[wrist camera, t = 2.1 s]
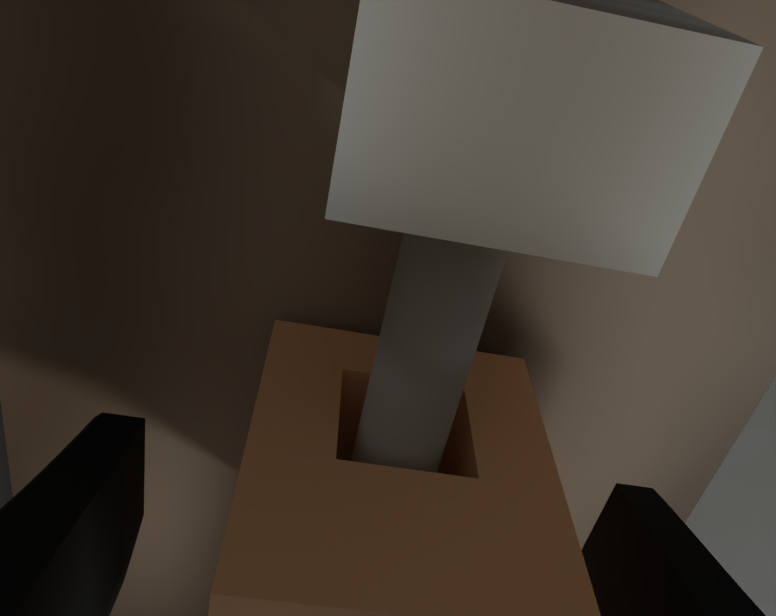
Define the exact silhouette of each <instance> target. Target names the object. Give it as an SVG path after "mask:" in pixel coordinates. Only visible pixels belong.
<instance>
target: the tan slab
mask: <svg viewBox="0 0 776 616" xmlns="http://www.w3.org/2000/svg"><path fill="white" fill-rule="evenodd" d="M275 320H281V321H287V322H294V323H300V324H306V325H313V326H319V327H325V328H332V329H338V330H344V331H351V332H357V333H363V334H370V335H376V336H379V340H378V345H377V349H376V353H375V358H374V362H373V366H372V371H371V375H370V379H369V384H368V388H367V392H366V397H365V401H364V405H363V410H362V414H361V418H360V423H359V427H358V431H357V436H356V440H355V444H354V449H353V453H352V457H351V461H354V462H361V463H368V464H376V465H383V466H390V467H398V468H405V469H412V470H420V471H427V472H434V473H437V470H438V467H439V464H440V460H441V457H442V454H443V451H444V448H445V445H446V442H447V439H448V436H449V433H450V430H451V426H452V423H453V420H454V417H455V414H456V411H457V408H458V405H459V402H460V399H461V396H462V392H463V389H464V386H465V383H466V380H467V377H468V374H469V371H470V368H471V365H472V362H473V358H474V355H475V352H476V351H478V352H484V353H490V354H497V355H503V356H510V357H516V358H522V359H524V360H525V363H526V367H527V370H528V373H529V377H530V380H531V383H532V387H533V390H534V393H535V397H536V400H537V403H538V407H539V410H540V413H541V417H542V420H543V424H544V427H545V430H546V434H547V437H548V440H549V444H550V447H551V450H552V454H553V457H554V460H555V464H556V467H557V470H558V474H559V477H560V480H561V484H562V487H563V490H564V494H565V497H566V501H567V504H568V507H569V511H570V514H571V517H572V521H573V524H574V527H575V531H576V534H577V537H578V541H579V544H580V547H581V550H582V548H583V546H584V544H585V542H586V540H587V538H588V536H589V535H590V533H591V531H592V529H593V527H594V525H595V523H596V521H597V519H598V517H599V515H600V513H601V511H602V510H603V508H604V506H605V504H606V502H607V500H608V498H609V496H610V494H611V492H612V490H613V488H614V487H615V485H616V483H619V484H627V485H634V486H641V487H648V488H653V489H654V490H655V491H656V492H657V493H658V494H659V495H660V496H661V497H662V498H663V499H664V500H665V502H666V503H667V504H668V505H669V506H670V507H671V508H672V509H673V510H674V512H675V513H676V514H677V515H678V516H679V517H680V518H681V520H682V521H683V522H684V523H685V522H686V520H687V518H688V517H689V515H690V513H691V512H692V510H693V509H694V507H695V505H696V504H697V502H698V501H699V499H700V497H701V496H702V494H703V492H704V491H705V489H706V488H707V486H708V484H709V483H710V481H711V479H712V478H713V476H714V475H715V473H716V471H717V470H718V468H719V467H720V465H721V463H722V462H723V460H724V458H725V457H726V455H727V454H728V452H729V450H730V449H731V447H732V445H733V444H734V442H735V441H736V439H737V437H738V436H739V434H740V433H741V431H742V429H743V428H744V426H745V424H746V423H747V421H748V420H749V418H750V416H751V415H752V413H753V411H754V410H755V408H756V407H757V405H758V403H759V402H760V400H761V399H762V397H763V395H764V394H765V392H766V390H767V389H768V387H769V386H770V384H771V382H772V381H773V379H774V378H775V376H776V0H0V402H1V410H2V418H3V426H4V434H5V442H6V449H7V457H8V465H9V473H10V481H11V489H12V497H14V496H15V495H16V494H17V493H18V492H20V491H21V490H22V489H23V488H24V487H25V486H26V485H27V484H28V483H29V482H30V481H31V480H32V479H33V478H35V477H36V476H37V475H38V474H39V473H40V472H41V471H42V470H43V469H44V468H45V467H46V466H47V465H48V464H49V463H50V462H51V461H52V460H53V459H54V458H55V457H56V456H57V455H58V454H59V453H60V452H61V451H62V450H63V449H64V448H65V447H66V446H67V445H68V444H69V443H70V442H71V441H72V440H73V439H74V438H75V437H76V436H77V435H78V434H79V433H80V432H81V431H82V430H83V429H84V428H85V426H86V425H87V424H88V423H89V422H90V421H91V420H92V419H93V418H94V417H95V416H97V415H99V414H100V413H102V412H104V413H111V414H118V415H126V416H133V417H140V418H145V475H144V516H143V519H142V523H141V526H140V530H139V533H138V537H137V540H136V543H135V547H134V550H133V553H132V557H131V560H130V563H129V566H128V570H127V573H126V576H125V579H124V582H123V585H122V587H121V590H120V592H119V594H118V597H117V599H116V602H115V604H114V606H113V609H112V611H111V614H110V616H208V612H209V602H210V593H211V589H212V584H213V580H214V576H215V572H216V567H217V563H218V559H219V555H220V551H221V546H222V542H223V538H224V534H225V529H226V525H227V521H228V517H229V512H230V508H231V504H232V500H233V496H234V491H235V487H236V483H237V479H238V474H239V470H240V466H241V462H242V458H243V453H244V449H245V445H246V441H247V436H248V432H249V428H250V424H251V420H252V415H253V411H254V407H255V403H256V398H257V394H258V390H259V386H260V381H261V377H262V373H263V369H264V365H265V360H266V356H267V352H268V348H269V343H270V339H271V335H272V331H273V327H274V322H275Z"/></svg>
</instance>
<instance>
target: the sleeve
mask: <svg viewBox="0 0 776 616" xmlns="http://www.w3.org/2000/svg"><path fill="white" fill-rule="evenodd" d="M378 340H379V336H376V335H370V334H363V333H357V332H351V331H344V330H338V329H332V328H325V327H319V326H313V325H306V324H300V323H294V322H287V321H281V320H275V322H274V327H273V331H272V335H271V339H270V343H269V348H268V352H267V356H266V360H265V365H264V369H263V373H262V377H261V381H260V386H259V390H258V394H257V398H256V403H255V407H254V411H253V415H252V420H251V424H250V428H249V432H248V436H247V441H246V445H245V449H244V453H243V458H242V462H241V466H240V470H239V474H238V479H237V483H236V487H235V491H234V496H233V500H232V504H231V508H230V512H229V517H228V521H227V525H226V529H225V534H224V538H223V542H222V546H221V551H220V555H219V559H218V563H217V567H216V572H215V576H214V580H213V584H212V589H211V593H210V602H209V612H208V616H601V614H600V611H599V608H598V604H597V601H596V598H595V594H594V591H593V588H592V584H591V581H590V578H589V574H588V571H587V567H586V564H585V561H584V557H583V554H582V551H581V547H580V544H579V541H578V537H577V534H576V531H575V527H574V524H573V521H572V517H571V514H570V511H569V507H568V504H567V501H566V497H565V494H564V490H563V487H562V484H561V480H560V477H559V474H558V470H557V467H556V464H555V460H554V457H553V454H552V450H551V447H550V444H549V440H548V437H547V434H546V430H545V427H544V424H543V420H542V417H541V413H540V410H539V407H538V403H537V400H536V397H535V393H534V390H533V387H532V383H531V380H530V377H529V373H528V370H527V367H526V363H525V360H524V359H522V358H516V357H510V356H503V355H497V354H490V353H484V352H478V351H476V352H475V355H474V358H473V362H472V365H471V368H470V371H469V374H468V377H467V380H466V383H465V386H464V389H463V392H462V396H461V399H460V402H459V405H458V408H457V411H456V414H455V417H454V420H453V423H452V426H451V430H450V433H449V436H448V439H447V442H446V445H445V448H444V451H443V454H442V457H441V460H440V464H439V467H438V470H437V473H434V472H427V471H420V470H412V469H405V468H398V467H390V466H383V465H376V464H368V463H361V462H354V461H351V457H352V453H353V449H354V444H355V440H356V436H357V431H358V427H359V423H360V418H361V414H362V410H363V405H364V401H365V397H366V392H367V388H368V384H369V379H370V375H371V371H372V366H373V362H374V358H375V353H376V349H377V345H378Z"/></svg>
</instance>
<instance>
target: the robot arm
mask: <svg viewBox="0 0 776 616" xmlns="http://www.w3.org/2000/svg"><path fill="white" fill-rule="evenodd" d="M144 475H145V418H140V417H133V416H126V415H118V414H111V413H104V412H102V413H100V414H99V415H97V416H95V417H94V418H93V419H92V420H91V421H90V422H89V423H88V424H87V425H86V426H85V428H84V429H83V430H82V431H81V432H80V433H79V434H78V435H77V436H76V437H75V438H74V439H73V440H72V441H71V442H70V443H69V444H68V445H67V446H66V447H65V448H64V449H63V450H62V451H61V452H60V453H59V454H58V455H57V456H56V457H55V458H54V459H53V460H52V461H51V462H50V463H49V464H48V465H47V466H46V467H45V468H44V469H43V470H42V471H41V472H40V473H39V474H38V475H37V476H36V477H35V478H33V479H32V480H31V481H30V482H29V483H28V484H27V485H26V486H25V487H24V488H23V489H22V490H21V491H20V492H18V493H17V494H16V495H15V496H14V497H13V498H12V499H11V500H10V501H9V502H8V503H6V504H5V505H4V506H3V507H2V508H1V509H0V616H110V614H111V611H112V609H113V606H114V604H115V602H116V599H117V597H118V594H119V592H120V590H121V587H122V585H123V582H124V579H125V576H126V573H127V570H128V566H129V563H130V560H131V557H132V553H133V550H134V547H135V543H136V540H137V537H138V533H139V530H140V526H141V523H142V519H143V516H144ZM581 551H582V554H583V557H584V561H585V564H586V567H587V571H588V574H589V578H590V581H591V584H592V588H593V591H594V594H595V598H596V601H597V604H598V608H599V611H600V614H601V616H765V615H764V613H763V612H762V611H761V610H760V609H759V608H758V607H757V606H756V605H755V603H754V602H753V601H752V600H751V599H750V598H749V597H748V596H747V594H746V593H745V592H744V591H743V590H742V589H741V588H740V587H739V585H738V584H737V583H736V582H735V581H734V580H733V579H732V577H731V576H730V575H729V574H728V573H727V572H726V571H725V569H724V568H723V567H722V566H721V565H720V564H719V562H718V561H717V560H716V559H715V558H714V557H713V556H712V554H711V553H710V552H709V551H708V550H707V549H706V547H705V546H704V545H703V544H702V543H701V542H700V540H699V539H698V538H697V537H696V536H695V535H694V533H693V532H692V531H691V530H690V529H689V528H688V527H687V525H686V524H685V523H684V522H683V521H682V520H681V518H680V517H679V516H678V515H677V514H676V513H675V512H674V510H673V509H672V508H671V507H670V506H669V505H668V504H667V503H666V502H665V500H664V499H663V498H662V497H661V496H660V495H659V494H658V493H657V492H656V491H655V490H654V489H653V488H648V487H641V486H634V485H627V484H619V483H616V485H615V487H614V488H613V490H612V492H611V494H610V496H609V498H608V500H607V502H606V504H605V506H604V508H603V510H602V511H601V513H600V515H599V517H598V519H597V521H596V523H595V525H594V527H593V529H592V531H591V533H590V535H589V536H588V538H587V540H586V542H585V544H584V546H583V548H582V550H581Z"/></svg>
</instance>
